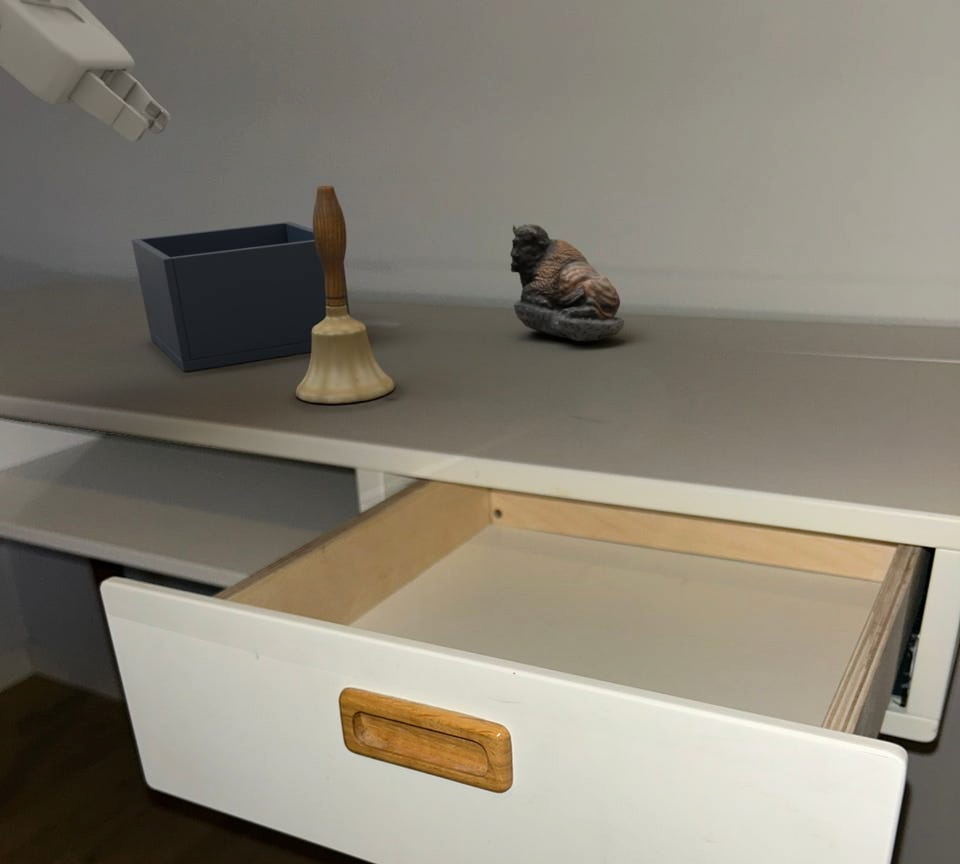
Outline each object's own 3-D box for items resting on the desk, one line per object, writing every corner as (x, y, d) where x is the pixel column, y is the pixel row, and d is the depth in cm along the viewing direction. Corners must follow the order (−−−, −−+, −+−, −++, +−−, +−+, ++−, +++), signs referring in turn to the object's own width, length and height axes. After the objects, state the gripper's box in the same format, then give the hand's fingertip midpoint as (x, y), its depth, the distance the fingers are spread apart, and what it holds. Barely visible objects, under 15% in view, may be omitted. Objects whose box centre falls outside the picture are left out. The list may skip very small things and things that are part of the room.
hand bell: (349, 373, 95) (327, 179, 87) (414, 386, 90) (397, 181, 82) (275, 395, 90) (245, 191, 82) (341, 410, 85) (315, 194, 77)
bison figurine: (637, 338, 101) (638, 224, 96) (590, 353, 97) (590, 236, 92) (540, 324, 108) (537, 219, 104) (493, 338, 104) (488, 229, 99)
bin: (184, 372, 99) (163, 259, 94) (151, 339, 112) (131, 239, 107) (353, 345, 105) (341, 237, 100) (302, 317, 118) (290, 221, 113)
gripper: (-46, -75, 64) (153, 98, 69) (46, -44, 81) (198, 91, 87) (-99, 16, 65) (99, 178, 71) (2, 27, 83) (154, 155, 89)
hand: (154, 130), depth 79 cm, fingers open, 8 cm apart
